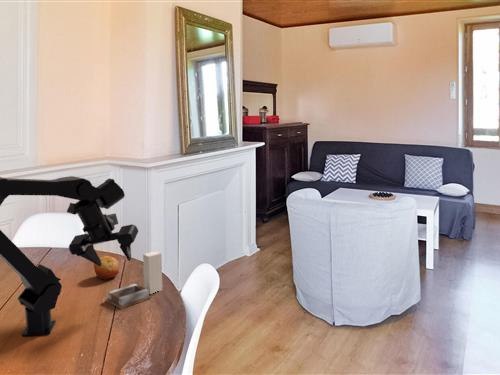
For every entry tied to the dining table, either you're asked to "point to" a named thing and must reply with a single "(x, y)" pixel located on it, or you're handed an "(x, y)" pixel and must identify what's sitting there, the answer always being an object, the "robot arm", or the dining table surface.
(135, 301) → the track
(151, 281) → the tall cream box
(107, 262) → the fruit
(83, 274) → the dining table surface
